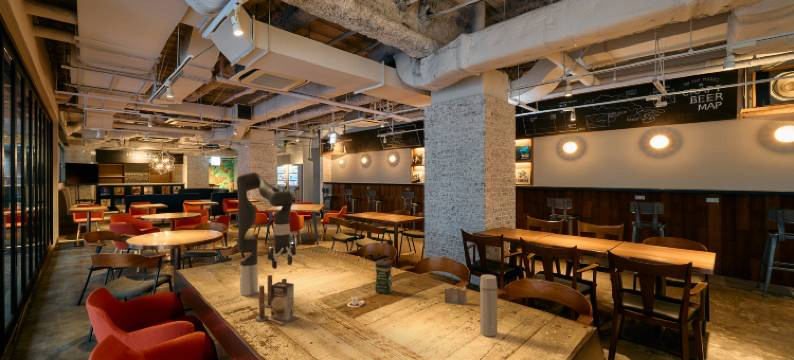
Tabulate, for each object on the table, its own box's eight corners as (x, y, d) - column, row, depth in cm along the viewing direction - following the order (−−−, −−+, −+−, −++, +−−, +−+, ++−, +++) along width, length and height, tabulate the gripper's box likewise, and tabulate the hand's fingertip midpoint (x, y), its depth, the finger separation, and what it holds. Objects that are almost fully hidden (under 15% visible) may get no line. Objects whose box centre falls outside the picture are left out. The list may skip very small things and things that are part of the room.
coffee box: (270, 318, 170) (269, 285, 170) (277, 313, 176) (277, 281, 176) (286, 321, 168) (286, 287, 168) (294, 315, 174) (294, 283, 174)
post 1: (252, 319, 171) (252, 286, 171) (263, 315, 176) (263, 283, 176) (260, 322, 168) (259, 289, 167) (271, 318, 172) (270, 285, 172)
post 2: (261, 306, 189) (261, 276, 188) (271, 302, 193) (271, 273, 193) (268, 308, 185) (268, 278, 185) (278, 305, 190) (278, 275, 190)
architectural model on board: (466, 303, 192) (466, 285, 192) (466, 305, 189) (466, 287, 189) (445, 301, 195) (445, 283, 195) (444, 303, 192) (444, 285, 192)
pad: (266, 319, 171) (266, 317, 171) (283, 312, 180) (283, 311, 180) (282, 325, 165) (282, 323, 164) (299, 318, 173) (299, 316, 173)
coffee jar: (373, 293, 208) (373, 261, 208) (379, 289, 215) (379, 258, 215) (388, 295, 204) (388, 263, 204) (394, 291, 211) (393, 259, 211)
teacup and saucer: (366, 304, 192) (366, 296, 192) (358, 309, 185) (358, 301, 185) (352, 301, 196) (352, 294, 196) (344, 306, 188) (344, 298, 188)
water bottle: (477, 330, 158) (477, 274, 157) (494, 329, 158) (494, 273, 158) (484, 340, 149) (483, 280, 148) (502, 339, 149) (502, 280, 149)
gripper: (274, 236, 163) (274, 271, 163) (298, 231, 175) (299, 264, 175) (264, 234, 167) (264, 268, 168) (289, 230, 179) (289, 262, 179)
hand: (282, 266), depth 171 cm, fingers open, 8 cm apart
